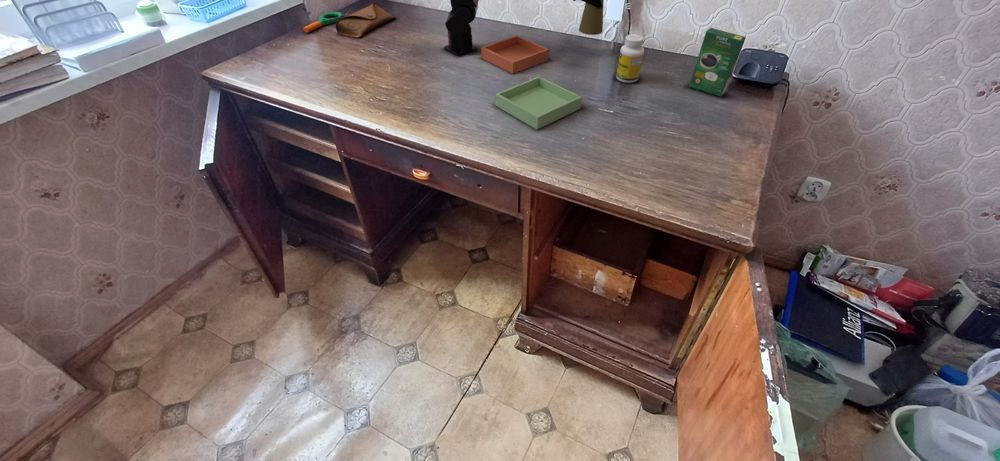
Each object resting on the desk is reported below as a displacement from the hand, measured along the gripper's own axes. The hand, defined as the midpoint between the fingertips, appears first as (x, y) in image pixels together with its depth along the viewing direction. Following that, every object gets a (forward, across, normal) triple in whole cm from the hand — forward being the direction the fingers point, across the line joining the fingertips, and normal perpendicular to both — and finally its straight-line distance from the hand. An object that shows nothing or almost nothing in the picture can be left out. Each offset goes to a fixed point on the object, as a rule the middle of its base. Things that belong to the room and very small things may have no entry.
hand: (600, 3), depth 115 cm
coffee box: (+26, -20, -9) cm, 34 cm away
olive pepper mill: (+4, 0, +6) cm, 7 cm away
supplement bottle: (+14, -15, +4) cm, 21 cm away
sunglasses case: (-36, +16, +55) cm, 68 cm away
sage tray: (-2, -30, +19) cm, 36 cm away
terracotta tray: (-6, -5, +23) cm, 25 cm away
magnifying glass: (-46, +17, +65) cm, 81 cm away
